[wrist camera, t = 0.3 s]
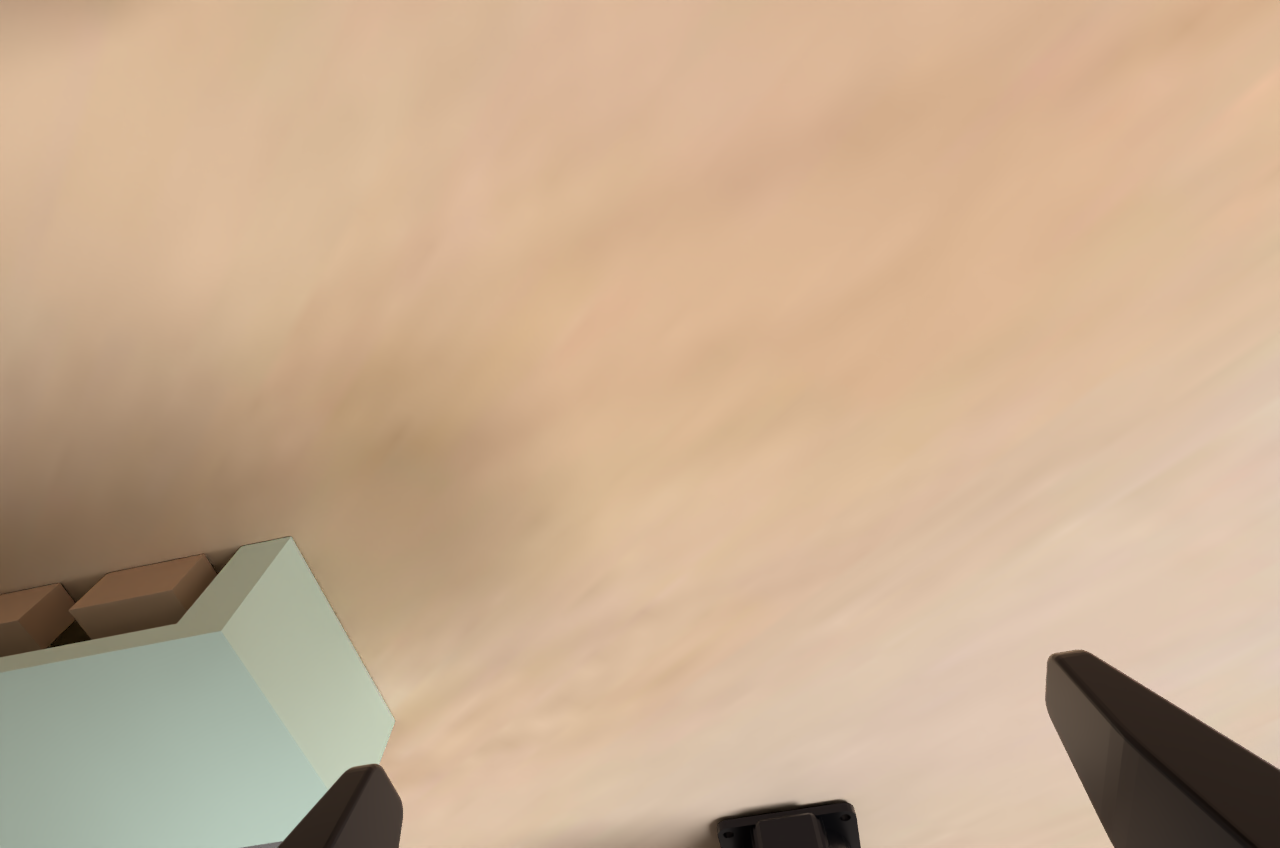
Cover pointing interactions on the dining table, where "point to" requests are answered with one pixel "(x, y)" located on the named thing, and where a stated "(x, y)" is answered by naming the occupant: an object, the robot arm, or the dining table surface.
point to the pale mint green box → (180, 706)
